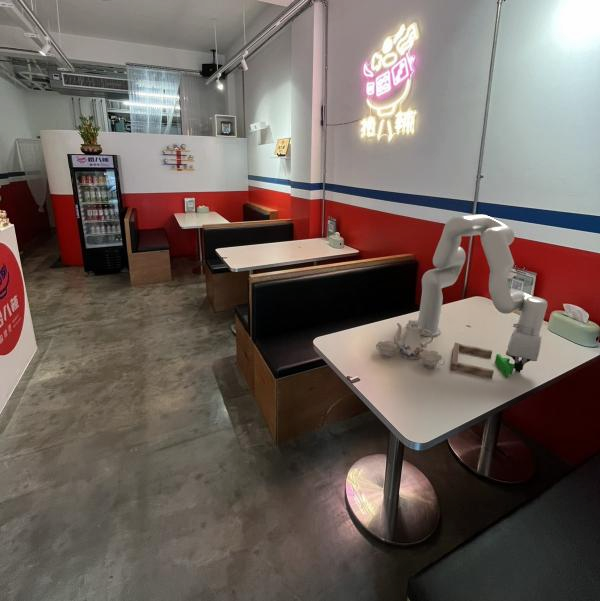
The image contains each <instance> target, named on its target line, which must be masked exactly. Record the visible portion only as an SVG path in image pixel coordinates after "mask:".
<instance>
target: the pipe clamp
mask: <svg viewBox="0 0 600 601" xmlns="http://www.w3.org/2000/svg"><path fill="white" fill-rule="evenodd" d="M510 361H511V359H510V358H509V357H502V356H501V354H500V353H496V356H495V360H494V365H495V366H496V368H497V369H498V370H499V371H500V372H501V374H502V376H503V377H504V378H505V379H509V377H510V375H513V373H514V370H515V369H514V366H515V365H514V363H510Z"/></svg>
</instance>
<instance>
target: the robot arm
mask: <svg viewBox="0 0 600 601" xmlns="http://www.w3.org/2000/svg"><path fill="white" fill-rule="evenodd" d="M470 236H471V237H472V236H473V237H474V236H480V242H481V243H480V244H481V246H482V249H483V252H484V254H485V257H486V260H487V264H488V266H489V270H490V271H489V278H488V291H489V294H490V298H491V301H492V303H493V306H494V308H495V310H496V311H497V312H499V313H500V314H504V315H505V314H506V315H508V314H512V313H514V312H516V311H517V312H518V311H520V314H519V319H518V322H517V323H513V324H512V327H513V328H515V329H514V330H513V332H512V334H511V337H510V338H509V342H508V345H507V350H506V351H505V355H506V356H507V357H511V359H513V361H514V363H513V364H514V365H515V366H514V369H513V370H514V372H515V373H519V374H520V373H521V371H523V369H524V366H525V364H527V363H529V362H536V361H538V358H539V355H540V350H541V344H542V335H541V330H542V327H543V322H544V320H545V319H544V318H545V315H546V311H547V308H548V301H547V300H546V299H544V298H541V297H538V296H534V295H530V294H528V293H527V292H524V291H522V290H512V291H510V288H509V284H508V280H509V275H510V273H511V271H512V269H513V267H514V266H515V261H514V258H513V256H512V253H511V250H510V247H509V246H510V245H511V244H512V243H513V242H514V241H515V232H514V231H513V229H512V228H511V227H510V226H509V225H506V224H505V223H502V222H501V221H498V220H497V219H494V218H493V217H491V216H488V215H487V214H482V213H481V214H480V213H479V214H478V213H477V214H469V215H468V214H467V215H466V214H465V215H459V216H455V217H452V218H450V219H448V221H446V223H445V225H444V227H443V230H442V233H441V236H440V240H439V241H438V244H437V246H436V249H435V252H434V253H433V257H432V264H433V266H434V267H435V268H433V269H429V270H427V271H426V272H424V274H423V275H422V278H421V290H422V291H421V298H420V305H419V312H418V319H417V320H415V321H416V323H417V324H418V325H420V326H422V328H421V330H422V329H425V330H429V331H430V332H431V333H432V334H433V338H434V337H438V336H440V335H441V332H442V331H441V329H440V328H439V324H440V320H441V319H440V318H441V313H442V311H441V310H442V306H443V301H444V300H443V299H444V297H443V292H442V289H443V288H447V287H449V286H453V285H454V284H455V283H456V282H457V280H458V278H459V275H460V273H461V272H462V269H463V266H464V265H465V261H466V256H467V255H466V251H465V250H464V248H463V247H461V242H462V237H470ZM413 321H414V320H413V319H408V322H407V324H408V323H411V322H413ZM421 332H422V331H421ZM421 332H420V336H424V337H429V338H432V336H431V334H430V333H429V332H427V331H424V333H423V334H422V333H421Z"/></svg>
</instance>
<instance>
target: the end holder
mask: <svg viewBox="0 0 600 601" xmlns="http://www.w3.org/2000/svg"><path fill="white" fill-rule="evenodd" d="M459 351H460V352H459ZM463 352H465V354H468V353H470V354H469V355H473V354H474V355H475V356H479V357H483V358H489V359H491V358H492V354H493V350H492V349H487V348H481V347H477V346H472V345H466V344H461V343H459V342H454V345H453V351H452V356H451V365H450V371H454V372H456V371H457V372H461V373H465V374H469V375H474V376H479V377H483V378H488V379H493V377H494V371H495V370H494V369H491V368H486V367H483V366H478V365H477V366H476V365H471V364H468V363H463V362H459V360H458V358H459V353H463Z"/></svg>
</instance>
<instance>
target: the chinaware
mask: <svg viewBox="0 0 600 601" xmlns="http://www.w3.org/2000/svg"><path fill="white" fill-rule="evenodd" d="M396 324H397V327H398V328H397V330H396V332H395V335H394V337H393V342H392V341H390V340H386V341H378V342H377V344H375V346H376V347H375V348H376V350H377V351H379V353H380V355H381V356H382V357H383V358H385V359H389V358H390V357H392V356H393V355H394V354H395V353H396V351H397V350H398V351H399V354H400V356H401V357H403V358H405V359H409V360H418V359H419V358H420V360H421V363H422V364H423V365H424V367H425V368H427V369H432V368H433V367H437V366H440V364H439V362H440V361H443V363H442V364H441V366H443V365H445V363H446V362H445V359H444V358H443V356H442V355H441V354H439V352H438V351H435V350H428V349H426V348H427V347H428V345H429V344H431V343H432V342H433V340H434V337H433V334H432V333H431V332H430V331H429V330H425V329H422V330H421V328H422V326H420V325H418V324H417V323H416V320H415V319H414V320H413V322H411V323H408V322H407V323H406V324H405V328H406V330H405V331H406V332H405V335H404V337H403V339H400V338H401V333H402V331H403V330H402V329H403V328H402V327H403V326H402V325H401V324H400V323H396ZM421 331H422V332H421ZM424 331H427V332H429V333H430V334H431V336H432V337H431V339H430V340H429V341H428V342H421V339H420V338H421V335H420V332H421V333H422V334H423V333H424Z"/></svg>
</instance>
